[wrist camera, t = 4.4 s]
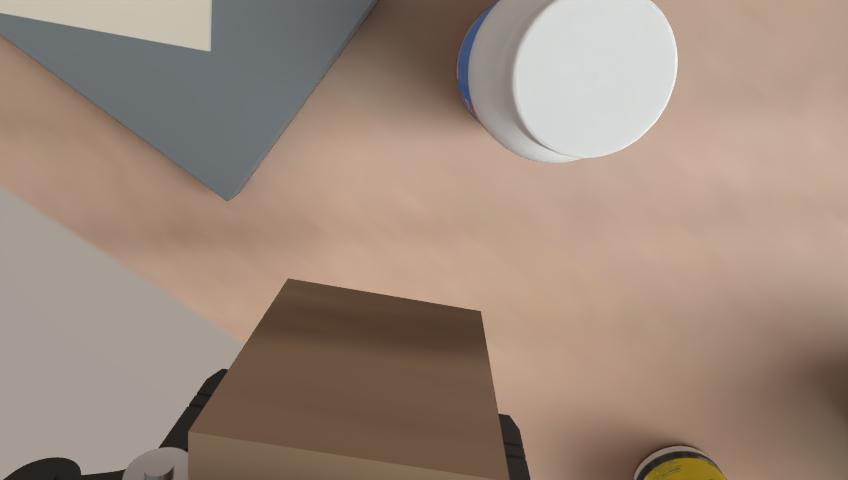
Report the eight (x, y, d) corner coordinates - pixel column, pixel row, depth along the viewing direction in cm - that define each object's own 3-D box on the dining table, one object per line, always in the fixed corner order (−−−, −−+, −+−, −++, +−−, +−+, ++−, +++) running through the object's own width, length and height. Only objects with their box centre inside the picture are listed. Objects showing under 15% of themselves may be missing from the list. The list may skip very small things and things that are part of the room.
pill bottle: (437, 110, 21) (443, 145, 12) (481, -21, 20) (526, -96, 10) (552, 150, 22) (642, 212, 13) (605, 26, 20) (752, -6, 11)
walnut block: (288, 278, 14) (187, 431, 8) (480, 311, 14) (509, 481, 9) (275, 430, 16) (187, 637, 10) (443, 457, 16) (448, 673, 11)
